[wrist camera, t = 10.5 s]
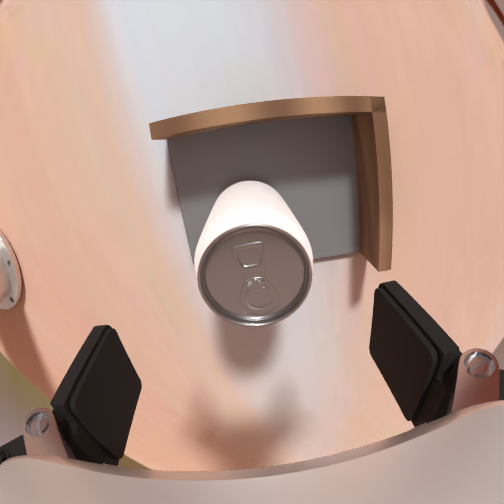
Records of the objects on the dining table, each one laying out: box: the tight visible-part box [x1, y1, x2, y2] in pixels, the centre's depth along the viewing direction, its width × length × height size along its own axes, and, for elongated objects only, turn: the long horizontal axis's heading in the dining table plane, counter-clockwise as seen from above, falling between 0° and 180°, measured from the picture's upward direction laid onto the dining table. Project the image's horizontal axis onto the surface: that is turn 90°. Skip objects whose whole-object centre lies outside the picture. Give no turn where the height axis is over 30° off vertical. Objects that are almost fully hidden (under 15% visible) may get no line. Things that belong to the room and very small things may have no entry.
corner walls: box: [149, 96, 393, 272], centre depth 22 cm, size 17×14×5 cm
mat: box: [168, 116, 360, 268], centre depth 25 cm, size 17×14×1 cm
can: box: [194, 181, 313, 327], centre depth 20 cm, size 6×6×12 cm
